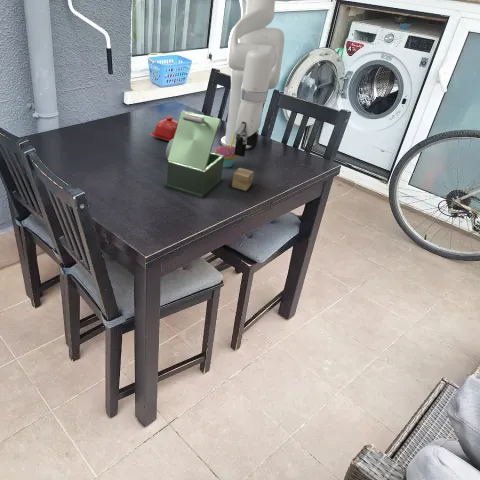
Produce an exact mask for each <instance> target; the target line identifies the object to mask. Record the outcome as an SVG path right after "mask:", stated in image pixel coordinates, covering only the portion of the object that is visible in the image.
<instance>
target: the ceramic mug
mask: <svg viewBox="0 0 480 480" xmlns="http://www.w3.org/2000/svg"><path fill="white" fill-rule="evenodd" d="M173 140H174V139H172V140H171V141H168V143H167V146H166V150H165V157H166V159H167V160H168V157H169V154H170V150H171V147H172V143H173Z"/></svg>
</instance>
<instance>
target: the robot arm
mask: <svg viewBox="0 0 480 480" xmlns="http://www.w3.org/2000/svg"><path fill="white" fill-rule="evenodd" d="M276 2H284V3H286V2H288V3H289V2H291V0H239V4H240V10H241V17H240V19H239V20H238V21H237V22H236V23H235V25H234V26H233V27H232V29H231V31H230V35H229V38H228V48H227V65H228V67H229V69H230V93H229V94H230V96H229V105H228V112H227V121H226V129H225V135H224V136H222V137H221V138H220V144H221V146H224V145H231V141H232V138H233V136H234V135H235V138H234V141H233V145H232V146H233V147H235V153H234V154H235V155H238V157H241V158H244V157H245V155H246V150H247V149H250V148H256V147H257V145H258V144H257V143H258V138H259V132H260V130H259V129H260V127H261V124H262V120H263V112H264V111H263V110H264V104H265V103H266V102H267V98H268V93H269V90H274V89H275V88H276V87H278V84H279V81H280V75H281V69H282V62H283V55H284V49H285V32H284V31H283V30H282V29H281V28H279V27H267V26H269V25H270V24H272V22H273V20H274V18H275V8H276V7H275V5H276Z"/></svg>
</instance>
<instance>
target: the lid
mask: <svg viewBox="0 0 480 480" xmlns="http://www.w3.org/2000/svg"><path fill="white" fill-rule="evenodd" d="M178 122H179V123H178V126H177V130H176V133H175V136H174V140H173V143H172V147H171V150H170V154H169V157H168V159H167V162H168V161H172V162H176V163H179V164H183V165H186V166H190V167H193V168H197V169H201V170H204V171H205V169H206V166H207V163H208V160H209V156H210V153H211V152H212V150H213V146H214V143H215V139H216V136H217V133H218V130H219V126H220V123H221V119H220V118H217V117H213V116H208V115H204V114H199V113H194V112H191V111H186V110H181V112H180V117H179V119H178Z"/></svg>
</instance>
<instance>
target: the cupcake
mask: <svg viewBox="0 0 480 480" xmlns="http://www.w3.org/2000/svg"><path fill="white" fill-rule="evenodd" d="M234 138H235V135H234V136H233V138H232V141H231V145H219V146H218V147H216V148H215V150H214V153H216V154H219V155H223V156H224V162H223V168H231V167H232V166H233V164H234V162H235V160H236V159H238V158H239V156H238V155H235V154H234V153H235V147H233V146H232V145H233V141H234Z"/></svg>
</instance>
